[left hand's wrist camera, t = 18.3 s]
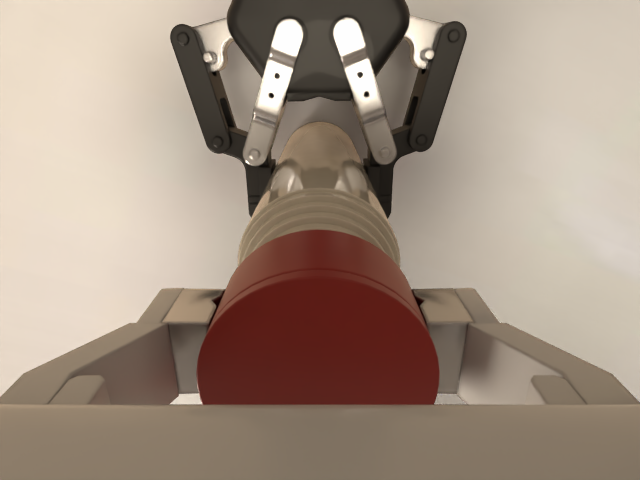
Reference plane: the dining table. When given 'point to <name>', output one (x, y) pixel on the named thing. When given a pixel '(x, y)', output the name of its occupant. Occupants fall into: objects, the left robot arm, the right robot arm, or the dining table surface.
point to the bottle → (319, 193)
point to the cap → (318, 329)
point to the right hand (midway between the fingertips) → (320, 226)
